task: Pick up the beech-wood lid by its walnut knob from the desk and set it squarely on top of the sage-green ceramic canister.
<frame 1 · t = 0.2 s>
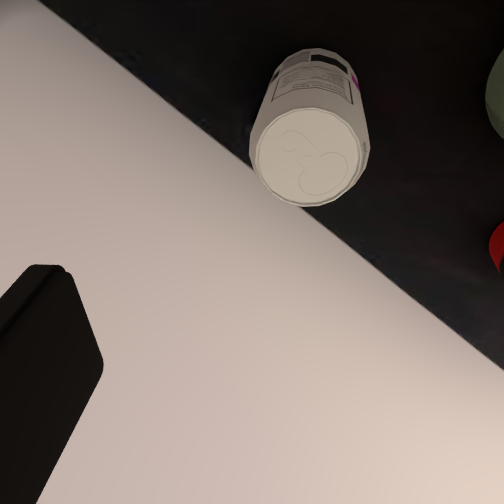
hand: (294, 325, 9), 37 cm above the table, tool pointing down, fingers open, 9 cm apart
supplement can: (313, 93, 42), on the table
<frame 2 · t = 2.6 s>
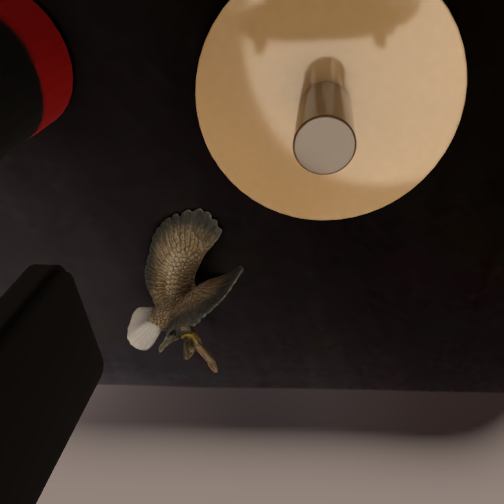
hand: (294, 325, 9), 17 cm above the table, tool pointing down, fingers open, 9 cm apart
eagle figurine: (198, 267, 32), on the table
lid: (324, 102, 23), point 1 cm above the table
soda can: (10, 57, 25), on the table
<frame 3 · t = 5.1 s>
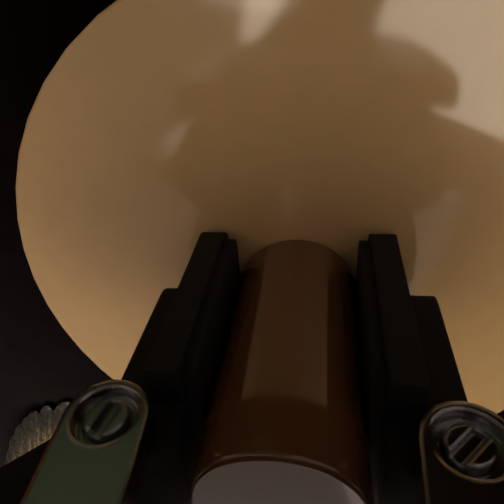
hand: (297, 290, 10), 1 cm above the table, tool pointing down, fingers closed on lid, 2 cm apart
eagle figurine: (101, 467, 19), on the table
lid: (299, 267, 11), point 1 cm above the table, touching gripper
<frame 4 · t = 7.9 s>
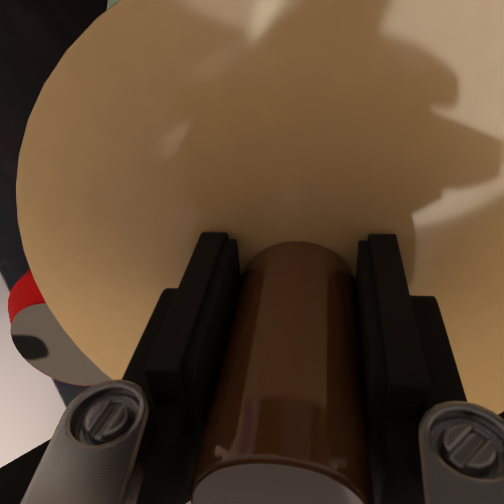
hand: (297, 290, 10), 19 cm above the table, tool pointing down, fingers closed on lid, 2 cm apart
lid: (299, 269, 11), point 18 cm above the table, touching gripper
soda can: (145, 223, 33), on the table
when the fingers open (11 cm above the table, at t = 10.7 s): lid stays where it is, resting on canister.
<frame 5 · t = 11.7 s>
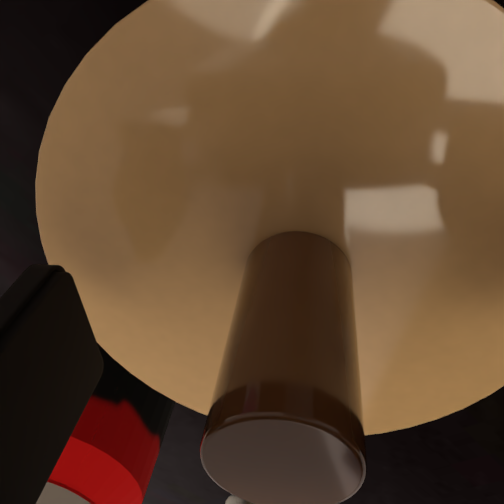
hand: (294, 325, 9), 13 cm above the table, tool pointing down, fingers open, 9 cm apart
lid: (299, 258, 12), point 10 cm above the table, touching canister
soda can: (140, 314, 29), on the table
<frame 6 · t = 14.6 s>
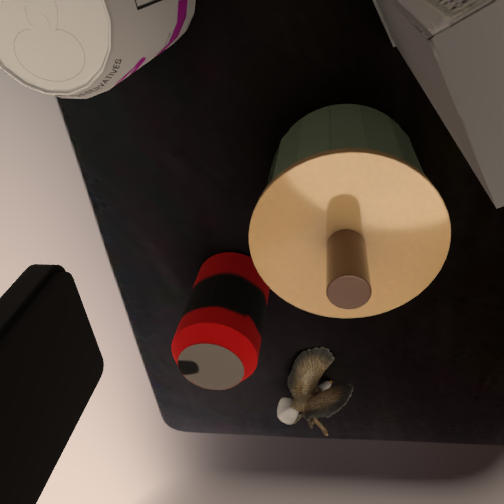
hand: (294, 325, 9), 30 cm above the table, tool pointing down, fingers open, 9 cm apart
canister: (341, 173, 40), on the table
eagle figurine: (315, 373, 55), on the table
lid: (345, 239, 31), point 10 cm above the table, touching canister
soda can: (234, 278, 48), on the table
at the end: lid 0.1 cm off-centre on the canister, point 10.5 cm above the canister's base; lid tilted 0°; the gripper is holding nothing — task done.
